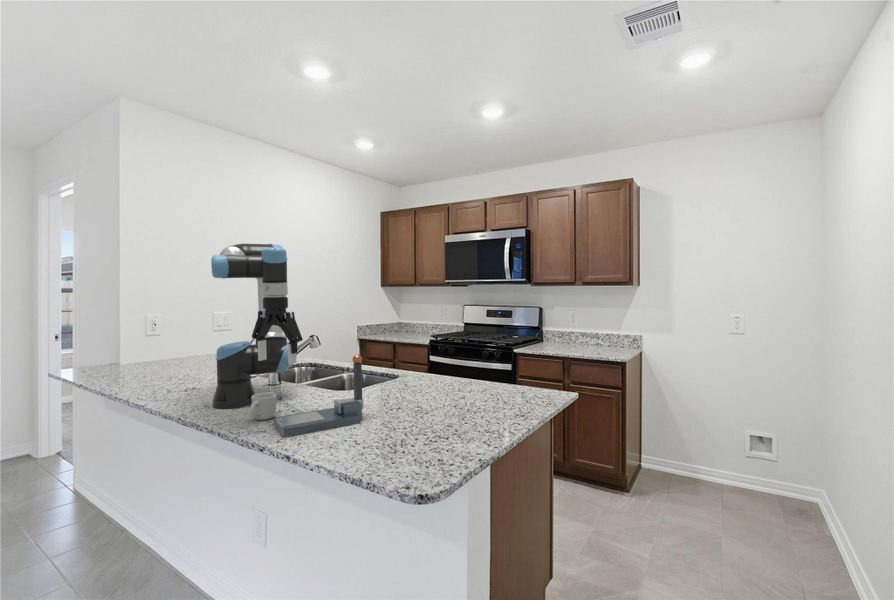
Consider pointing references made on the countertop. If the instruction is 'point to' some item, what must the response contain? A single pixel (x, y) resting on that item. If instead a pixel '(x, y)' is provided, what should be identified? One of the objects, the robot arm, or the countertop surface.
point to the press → (318, 420)
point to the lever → (357, 386)
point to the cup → (263, 405)
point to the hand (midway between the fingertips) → (277, 361)
